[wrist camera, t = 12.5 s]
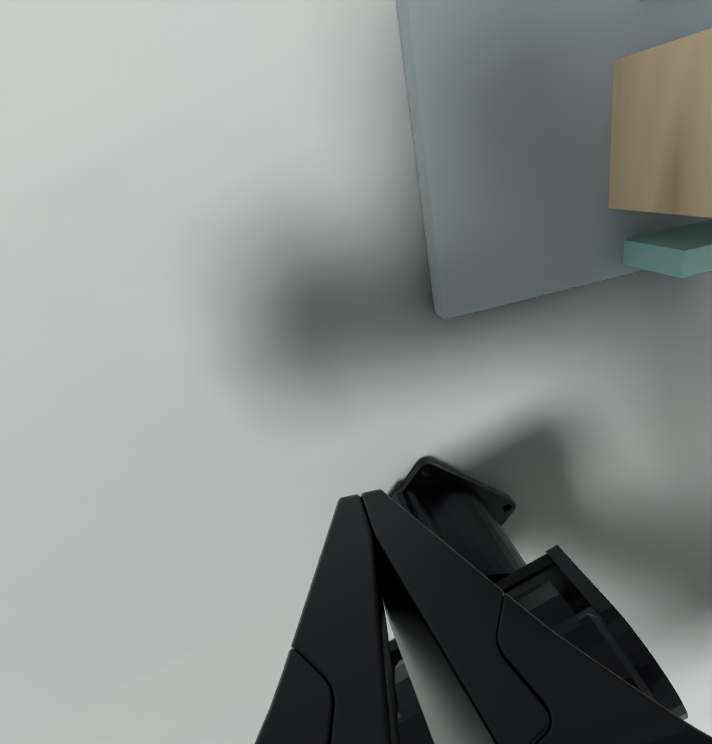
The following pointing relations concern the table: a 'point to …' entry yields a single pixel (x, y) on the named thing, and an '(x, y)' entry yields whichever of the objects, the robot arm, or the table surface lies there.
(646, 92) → the cardboard box with slot
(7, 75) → the table surface
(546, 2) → the dock
